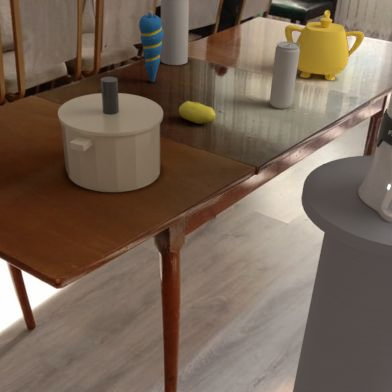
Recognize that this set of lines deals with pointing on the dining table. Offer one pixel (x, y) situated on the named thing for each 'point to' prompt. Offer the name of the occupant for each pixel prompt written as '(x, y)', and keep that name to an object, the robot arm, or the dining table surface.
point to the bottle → (174, 31)
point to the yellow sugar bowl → (323, 47)
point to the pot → (112, 160)
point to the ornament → (151, 42)
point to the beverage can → (284, 74)
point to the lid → (110, 112)
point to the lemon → (196, 112)
